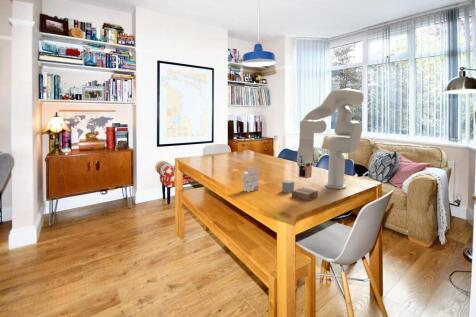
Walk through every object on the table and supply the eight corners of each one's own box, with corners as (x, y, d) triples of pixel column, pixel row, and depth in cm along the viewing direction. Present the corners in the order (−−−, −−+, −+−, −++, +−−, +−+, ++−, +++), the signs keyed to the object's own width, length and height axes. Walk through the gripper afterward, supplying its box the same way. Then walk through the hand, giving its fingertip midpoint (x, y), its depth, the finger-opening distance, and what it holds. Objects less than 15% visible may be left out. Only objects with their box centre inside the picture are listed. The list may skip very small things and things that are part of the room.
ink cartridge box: (253, 188, 161) (253, 165, 159) (258, 190, 157) (258, 166, 155) (242, 190, 156) (242, 167, 154) (247, 192, 152) (247, 168, 150)
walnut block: (302, 193, 149) (302, 187, 149) (317, 197, 142) (317, 191, 141) (291, 197, 143) (292, 190, 142) (306, 201, 135) (306, 194, 135)
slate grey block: (287, 189, 157) (287, 180, 156) (293, 191, 154) (294, 181, 153) (282, 191, 154) (282, 181, 153) (289, 193, 150) (289, 183, 149)
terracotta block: (303, 175, 144) (303, 165, 143) (311, 177, 140) (311, 166, 139) (298, 177, 140) (299, 166, 139) (306, 178, 137) (307, 167, 136)
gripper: (308, 141, 146) (306, 172, 149) (291, 143, 134) (290, 177, 137) (320, 142, 141) (318, 174, 144) (304, 144, 129) (302, 179, 132)
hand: (305, 175), depth 140 cm, fingers closed on terracotta block, 5 cm apart
